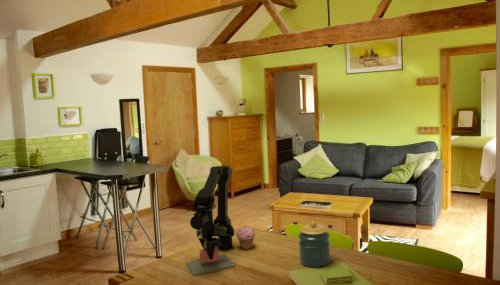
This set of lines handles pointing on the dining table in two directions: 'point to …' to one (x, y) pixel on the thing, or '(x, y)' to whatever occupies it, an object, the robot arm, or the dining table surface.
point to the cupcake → (245, 237)
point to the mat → (209, 265)
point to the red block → (205, 257)
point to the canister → (314, 245)
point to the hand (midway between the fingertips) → (209, 256)
